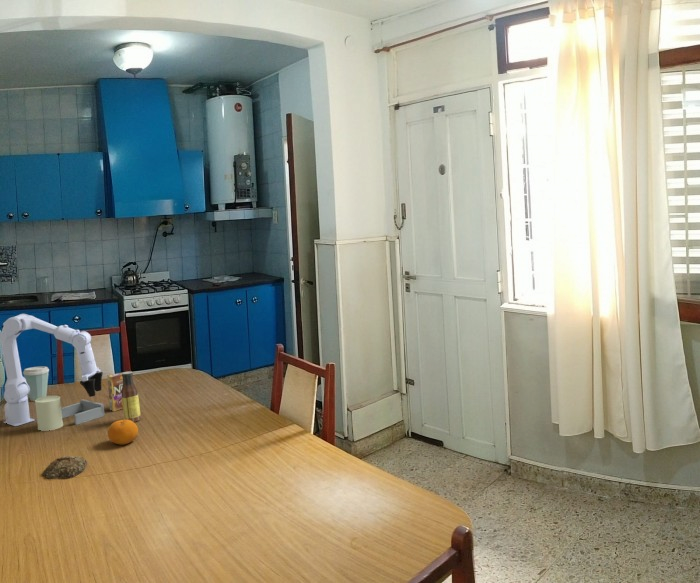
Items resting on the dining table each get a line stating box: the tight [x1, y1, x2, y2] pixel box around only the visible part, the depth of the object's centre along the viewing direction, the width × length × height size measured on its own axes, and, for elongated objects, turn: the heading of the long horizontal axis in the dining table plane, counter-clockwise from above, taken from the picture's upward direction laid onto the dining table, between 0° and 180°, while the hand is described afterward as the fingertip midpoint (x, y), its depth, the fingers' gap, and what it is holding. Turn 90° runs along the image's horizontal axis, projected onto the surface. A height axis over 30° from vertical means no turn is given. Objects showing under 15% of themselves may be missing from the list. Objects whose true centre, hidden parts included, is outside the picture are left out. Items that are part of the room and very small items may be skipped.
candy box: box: [107, 372, 123, 412], centre depth 266 cm, size 9×4×15 cm, turn 134°
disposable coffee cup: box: [22, 366, 50, 402], centre depth 284 cm, size 11×11×15 cm
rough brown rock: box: [42, 455, 88, 480], centre depth 202 cm, size 13×12×5 cm
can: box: [34, 395, 64, 432], centre depth 245 cm, size 9×9×12 cm
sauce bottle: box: [121, 371, 141, 423], centre depth 249 cm, size 7×6×20 cm
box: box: [61, 398, 105, 426], centre depth 256 cm, size 14×13×5 cm
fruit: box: [107, 418, 139, 445], centre depth 226 cm, size 10×10×8 cm
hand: (95, 393), depth 253 cm, fingers open, 7 cm apart
